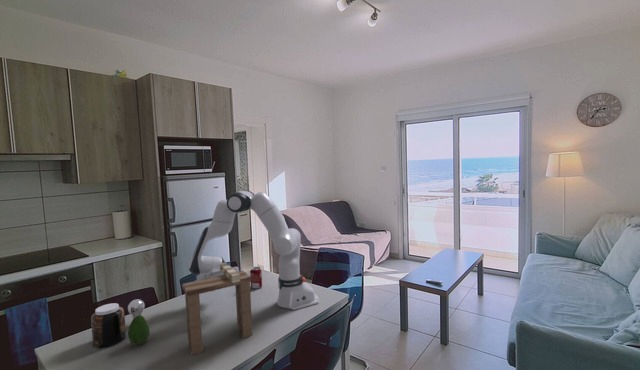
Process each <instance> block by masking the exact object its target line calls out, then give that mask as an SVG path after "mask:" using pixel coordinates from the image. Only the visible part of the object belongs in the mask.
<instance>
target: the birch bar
mask: <svg viewBox="0 0 640 370" xmlns="http://www.w3.org/2000/svg"><path fill="white" fill-rule="evenodd" d="M219 265H220V271H221V272H222V273H223V274H224V275H225V276H226V277H227V278H228V279H229V280H230V281H231V282H232V283H235V282H239V281H240V274H239V273H237V272H236V271H235V270H234V269H233V266H230V264H229V263H227V262H226V261H225V263H220V264H219Z"/></svg>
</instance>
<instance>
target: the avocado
mask: <svg viewBox="0 0 640 370" xmlns="http://www.w3.org/2000/svg"><path fill="white" fill-rule="evenodd" d="M150 332H151V331H150V326H149V324H148V322H147V320H146V319H145V317H144V316H141V315H138V316H136V317H135V318H134V319H133V318H132V320H131V322H130V324H129V327H128V332H127V338H128V340H129V342H130V343H132V344H134V345H142V344H144V343H146V341H147V340H148V339H149V335H150Z"/></svg>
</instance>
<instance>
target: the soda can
mask: <svg viewBox="0 0 640 370" xmlns="http://www.w3.org/2000/svg"><path fill="white" fill-rule="evenodd" d="M262 274H263V273H262V269H261V267H260V266H253V267H251V268H250V273H249V276H250V277H251V282H250V289H252V290H258V289H260V288H262V287H263V277H262Z"/></svg>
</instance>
